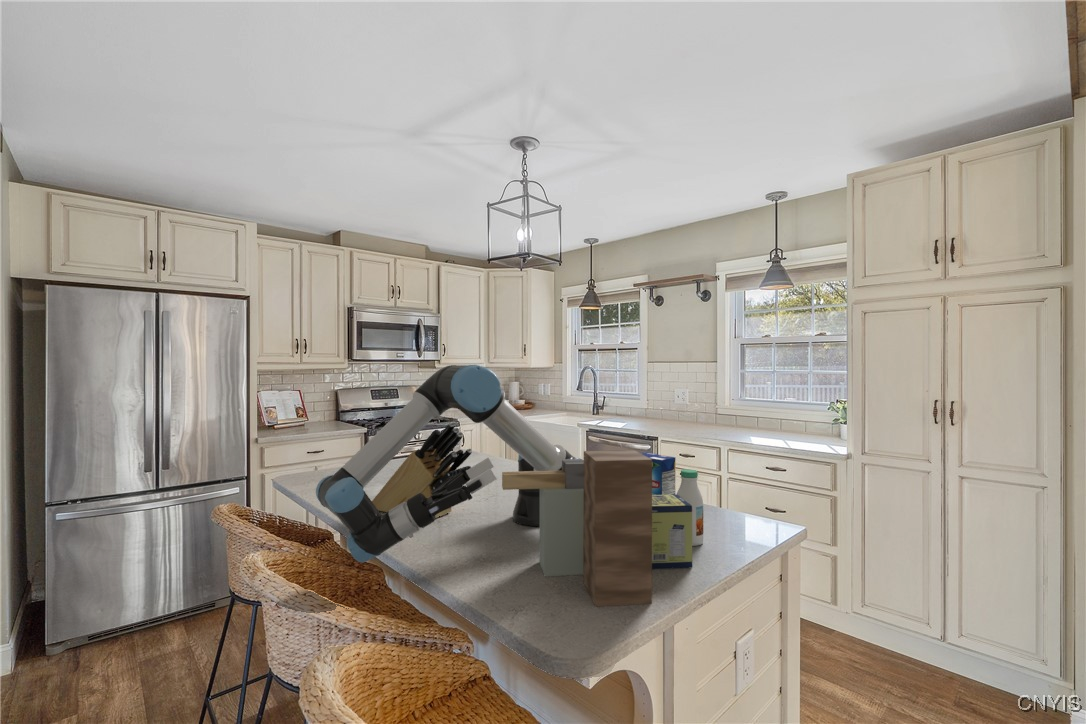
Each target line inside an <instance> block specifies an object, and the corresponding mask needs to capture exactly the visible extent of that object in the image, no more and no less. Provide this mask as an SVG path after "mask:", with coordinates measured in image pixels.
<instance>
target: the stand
mask: <svg viewBox="0 0 1086 724" xmlns="http://www.w3.org/2000/svg"><path fill="white" fill-rule="evenodd" d="M583 460H584V543H583V575H582V577H583V580H582V581H583V584H584V586H585V588H586V590H587V591H588V594H589V596H590V599H591V600H592V602H593V605H594V607H597V608H598V607H611V606H613V607H614V606H625V605H627V606H629V605H643V604H652V603H653V602H652V601H653V597H652V596H653V586H652V585H653V584H652V583H653V569H652V459H650V458H648V457H646V456H644V455H643V454H641V452H639V451H637V450H635V449H623V450H622V449H620V450H618V449H617V450H613V449H611V450H583Z"/></svg>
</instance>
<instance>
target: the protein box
mask: <svg viewBox="0 0 1086 724" xmlns="http://www.w3.org/2000/svg"><path fill="white" fill-rule="evenodd" d="M689 567H692V568H693V546H692V505H690V504H689V503H688V502H686V501H685V500H684V499H682V498H681V497H680V496H679V495H676V493H675V494H674V495H652V570H658V569H660V570H661V569H690V568H689Z"/></svg>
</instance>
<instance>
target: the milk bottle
mask: <svg viewBox="0 0 1086 724" xmlns="http://www.w3.org/2000/svg"><path fill="white" fill-rule="evenodd" d="M698 474H699V472H698V471H697V470H696V469H695V470H694V469H691V468H690V469H689V468H688V469H685V468H684V469H681V470H680V478H681V481H680V482H681V483H680V485H679V488H678V490H677V492H676V493H675V495H679V496H680V497H681V498H682V499H684V500H685V501H686V502H688V503H689V504H690V505H692V547H694V546H695V547H697V546H701V545H703V542H704V499H703V496H702V493H701V490H700V487H699V486H698V478H699V476H698Z"/></svg>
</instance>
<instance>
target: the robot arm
mask: <svg viewBox="0 0 1086 724" xmlns="http://www.w3.org/2000/svg"><path fill="white" fill-rule="evenodd" d="M449 409H457V410H459V411H460V412H462V413H463V415H465V416H466V417H467V418H469V419H470V420H471V421H472V422H473V423H474V424H482V423H483V424H484V425H485V426H486V427H487V428H488V429H490V430H491V431H492V432H493V433H494V434H496V436H498V437H499V438H500V439H501V440H502V441H503V442H504V443H506V445H507V446H509V448H511V449H512V450H514V452H515V453H517V454H518V460H517V462H518V471H517V472H519V471H558V470H562V459H581V457H575V456H574V455H572V454H571V453H570V452H569V451H568V450H567V449H566V448H564V446H562V445H560V444H553V443H551V441H549V440H548V438H546V437H545V435H543V434H542V433H541V432H540V431H539V430H538V429H537V428H536V427H535V426H534V425H533V424H532V423H530V421H528V420H527V418H526V417H524V416H523V414H521V413H520V411H518V410H517V409H516V408H515V407H514V406H513V405H512V404H511V403H510V402H509V401H507V399H506V392H505V390H504V389H503V388H502V387H501V382H500V379H499V377H498V376H497V374H496V373H495V372H494V371H493V370H491V369H490V368H488V367H485V366H482V365H478V364H467V365H465V364H464V365H460V364H458V365H455V364H451V365H446V366H444V367H441V368H440V369H439V370H437V371H436V372H435V373H433V374H432V375H431V376H429V378H427V379H426V380H425V381H424V382H423V383H422V384H421V385H420V386H419V387H418V388H417V389H416V390H414V392H412V398H411V400H410V401H409V402H408V403H406V405H404V407H403V408H402V409H400V410H399V412H397V413H396V414H395V415H394V416H393V417H392V418H391V419H390V420H389V421H388V422H387V423H386V424H385V425H384V426H383V427H382V428H381V429H380V430H379V431H378V432H377V433H375V435H374V436H372V437H371V439H370V440H368V441H367V442H366V443H365V444H364V446H362V447H361V448H360V449H359V450H358V451H357V452H356V453H355V454H354V455H353V456H352V457H351V458H349V460H348V461H347V462H346V463H345V464H344V465H342V467H340V468H339V469H338V470H337V471H336V472H335V473H334V474H332V475H331V474H330V475H327V476H325V477H323V478H322V479H321V480H320V481H318V483H317V485H316V488H315V496H316V499H317V500H318V501H319V503H320V505H321V506H322V507H323V508H326V509H327V510H329V512H331V513H332V514H333V515H335V517H337V518H338V519H339V520H340V522H341V524H343V525H344V526H345V528H346V529H347V530H348V531H349V532H348V533H350V534H348V535H347V537H346V545H347V549H348V551H349V552H350V555H351V556H352V558H353V559H354V560H355V561H357V562H359V563H365V562H366V563H367V562H369V561H370V560H372V559H374V558H376V557H378V556H381V554H383V553H384V552H386V551H388V549H391V548H392V547H393V546H396V545H397V544H399V543H400V542H402V541H404V540H405V539H407V538H408V537H409V538H413V537H414V534H415V533H417V532H418V531H420V529H424V528H425V527H427V526H429V525H430V524H432V523H434V522H435V521H436V518H435V515H436V514H438V513H440V512H442V511H444V510H446V509H448V508H450V507H451V508H452V507H454V506H457V505H459V504H462V503H463V502H466V501H470V500H472V499H473V496H472V495H473V494H474V493H476V492H479V490H481V489H483V488H485V487H487V486H488V485H490V484H492V482H494V481H495V482H496V480H497V476H496V475H495V474H494V471H493V470H492V469H494V467H495V466H494V464H493V463H492V461H491V459H490V457H487V458H484V459H482V460H481V461H479V462H478V463H477V464H475V465H473V466H472V467H471V468H470V469H468V470H465V469H462V470H461V473H459V474H458V475H456V476H455V477H454V478H452V479H451V480H449V481H448V482H446V483H445V484H444V485H442V486H441V487H439V488H438V489H436V490H435V491H432V493H431V494H432V495H431V496H430V497H429V498H426V497H425V496H424V495H423V494H422V493H418V494H417V495H415V496H413V497H412V498H410V499H408V501H407V503H406V502H403V503H401V504H399V505H398V506H396V507H394V508H393V509H391V510H389V511H388V512H384V513H381V511H379V510H378V509H377V508H376V507H375V505H374V504H373V503H372V500H371V498H370V497H369V496H368V494H367V493H366V491H365V490H364V487H366V486H367V485H368V484H369V483H370V482H371V481H372V480H373V479H374V478H375V477H376V476H377V475H378V474H379V473H380V472H381V470H383V469H384V468H385V466H386V465H388V463H390V461H392V459H393V458H395V456H397V455H398V453H400V452H401V451H402V450H403V448H404V447H405V446H407V444H408V443H409V442H410V441H411V440H413V438H415V436H416V435H418V433H419V432H420V431H421V430H423V429H424V427H426V426H427V424H428V423H429V422H430V421H431V420H433V419H437V418H439V417H441V416H442V415H443V413H445V412H446V411H448V410H449ZM582 460H583V461H584V459H582ZM512 519H513V521H514V522H515V521H516V522H518V523H517V524H519V523H520V524H519V525H522V524H524V525H523V526H528V525H530V526H531V527H540V489H518V495H517V498H516V502H515V505H514V507H513V511H512ZM516 522H515V523H516Z"/></svg>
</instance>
